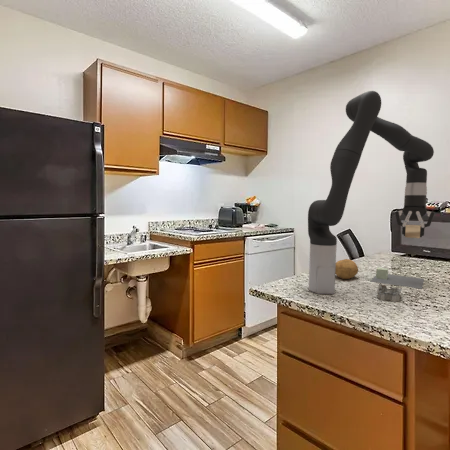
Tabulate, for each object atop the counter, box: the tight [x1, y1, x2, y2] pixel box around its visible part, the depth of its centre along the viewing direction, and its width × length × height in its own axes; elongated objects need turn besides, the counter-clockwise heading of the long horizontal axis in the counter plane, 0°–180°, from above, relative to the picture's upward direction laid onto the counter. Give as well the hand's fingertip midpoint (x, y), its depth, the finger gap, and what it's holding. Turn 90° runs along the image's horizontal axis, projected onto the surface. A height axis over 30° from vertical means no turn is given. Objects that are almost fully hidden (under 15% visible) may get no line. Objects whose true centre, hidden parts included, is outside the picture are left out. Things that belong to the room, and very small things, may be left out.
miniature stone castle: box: [376, 283, 403, 303], centre depth 106 cm, size 10×7×4 cm
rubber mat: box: [370, 273, 425, 290], centre depth 129 cm, size 20×18×1 cm
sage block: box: [375, 267, 389, 280], centre depth 132 cm, size 4×4×4 cm
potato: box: [335, 258, 359, 280], centre depth 131 cm, size 10×14×8 cm
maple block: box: [404, 224, 421, 239], centre depth 125 cm, size 5×5×5 cm
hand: (412, 236), depth 125 cm, fingers closed on maple block, 5 cm apart
